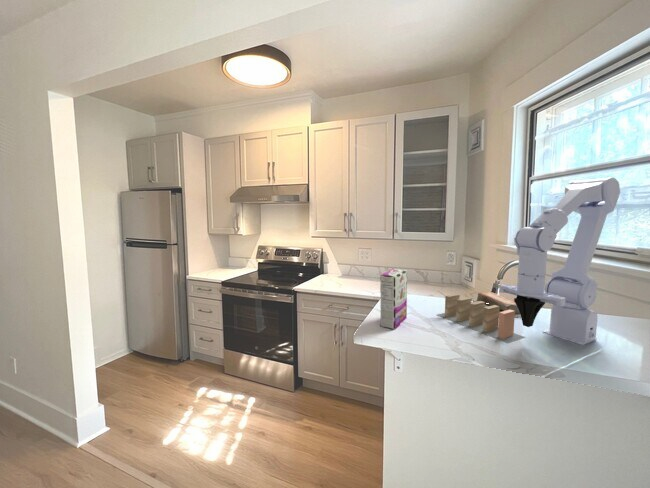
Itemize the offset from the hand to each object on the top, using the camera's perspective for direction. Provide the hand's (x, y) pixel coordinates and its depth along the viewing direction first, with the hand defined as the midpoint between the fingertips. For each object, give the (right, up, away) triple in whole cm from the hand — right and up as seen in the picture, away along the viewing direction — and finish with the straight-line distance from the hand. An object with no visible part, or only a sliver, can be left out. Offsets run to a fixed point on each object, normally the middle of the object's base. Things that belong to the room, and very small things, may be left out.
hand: (527, 325), depth 75 cm
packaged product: (+10, -3, +28) cm, 30 cm away
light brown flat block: (-4, -4, +9) cm, 11 cm away
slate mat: (-6, -4, +13) cm, 15 cm away
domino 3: (-6, -4, +13) cm, 15 cm away
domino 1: (-11, -3, +21) cm, 24 cm away
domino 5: (-3, -4, +5) cm, 7 cm away
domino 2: (-8, -3, +17) cm, 20 cm away
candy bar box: (-31, -4, +17) cm, 35 cm away
